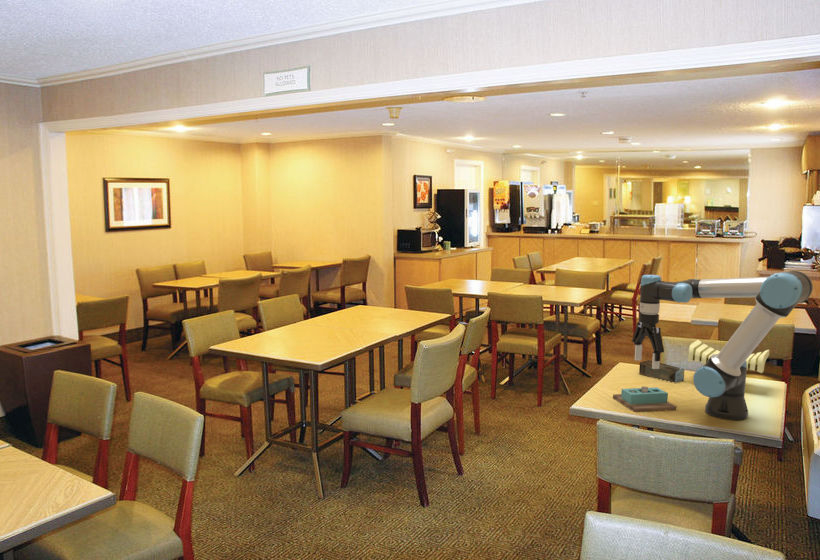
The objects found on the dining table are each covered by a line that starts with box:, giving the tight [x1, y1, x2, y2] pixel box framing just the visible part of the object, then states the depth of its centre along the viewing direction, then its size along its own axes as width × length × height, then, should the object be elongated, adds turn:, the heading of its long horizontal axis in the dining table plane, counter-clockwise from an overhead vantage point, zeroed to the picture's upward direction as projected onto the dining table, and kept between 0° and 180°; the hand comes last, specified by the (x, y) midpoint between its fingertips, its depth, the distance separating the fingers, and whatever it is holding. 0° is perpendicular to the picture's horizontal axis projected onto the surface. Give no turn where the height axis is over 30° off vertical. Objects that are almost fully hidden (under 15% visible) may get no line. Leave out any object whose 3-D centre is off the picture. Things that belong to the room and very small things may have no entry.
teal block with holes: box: [620, 386, 669, 404], centre depth 262 cm, size 16×8×4 cm, turn 99°
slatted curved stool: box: [687, 339, 770, 374], centre depth 288 cm, size 30×16×18 cm, turn 52°
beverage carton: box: [638, 359, 686, 384], centre depth 302 cm, size 8×19×7 cm, turn 37°
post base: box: [612, 386, 678, 413], centre depth 262 cm, size 18×18×7 cm
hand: (646, 364), depth 260 cm, fingers open, 13 cm apart
